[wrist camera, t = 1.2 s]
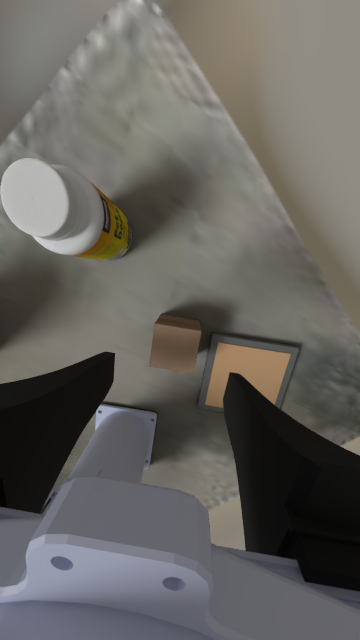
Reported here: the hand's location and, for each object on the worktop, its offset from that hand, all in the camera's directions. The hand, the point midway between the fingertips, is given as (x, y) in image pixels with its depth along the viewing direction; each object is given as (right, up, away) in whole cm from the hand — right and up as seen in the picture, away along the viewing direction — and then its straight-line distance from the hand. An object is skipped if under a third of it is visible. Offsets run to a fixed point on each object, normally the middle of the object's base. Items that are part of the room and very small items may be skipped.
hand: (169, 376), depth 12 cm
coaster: (+9, -4, +12) cm, 15 cm away
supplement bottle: (-7, +13, +9) cm, 17 cm away
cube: (0, +2, +11) cm, 11 cm away
